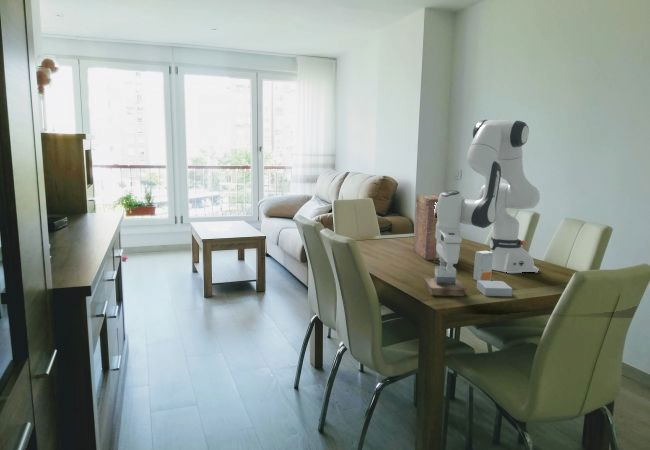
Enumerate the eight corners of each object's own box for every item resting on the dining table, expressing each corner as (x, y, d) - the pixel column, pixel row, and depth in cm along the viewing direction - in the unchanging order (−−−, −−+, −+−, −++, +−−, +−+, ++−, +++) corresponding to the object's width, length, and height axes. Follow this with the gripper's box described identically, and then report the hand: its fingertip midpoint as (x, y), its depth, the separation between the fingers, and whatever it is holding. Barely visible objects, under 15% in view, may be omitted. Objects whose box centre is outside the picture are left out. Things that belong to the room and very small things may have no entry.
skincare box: (480, 281, 194) (482, 253, 192) (472, 279, 198) (475, 251, 196) (491, 280, 196) (493, 252, 194) (484, 278, 200) (486, 250, 198)
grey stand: (502, 288, 185) (502, 281, 185) (511, 296, 175) (512, 288, 175) (476, 287, 185) (477, 280, 185) (484, 295, 175) (485, 287, 175)
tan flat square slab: (456, 286, 187) (457, 278, 186) (465, 296, 174) (466, 288, 173) (423, 285, 187) (424, 278, 186) (430, 295, 174) (431, 287, 174)
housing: (452, 281, 182) (453, 266, 181) (455, 285, 178) (456, 269, 177) (434, 281, 182) (435, 266, 181) (436, 284, 178) (437, 269, 177)
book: (413, 249, 256) (416, 194, 251) (430, 249, 256) (433, 194, 251) (425, 260, 231) (428, 199, 226) (444, 260, 231) (447, 199, 226)
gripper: (433, 228, 187) (431, 262, 190) (445, 239, 167) (443, 276, 170) (449, 229, 187) (447, 263, 190) (463, 239, 167) (460, 277, 169)
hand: (445, 269), depth 179 cm, fingers open, 8 cm apart
